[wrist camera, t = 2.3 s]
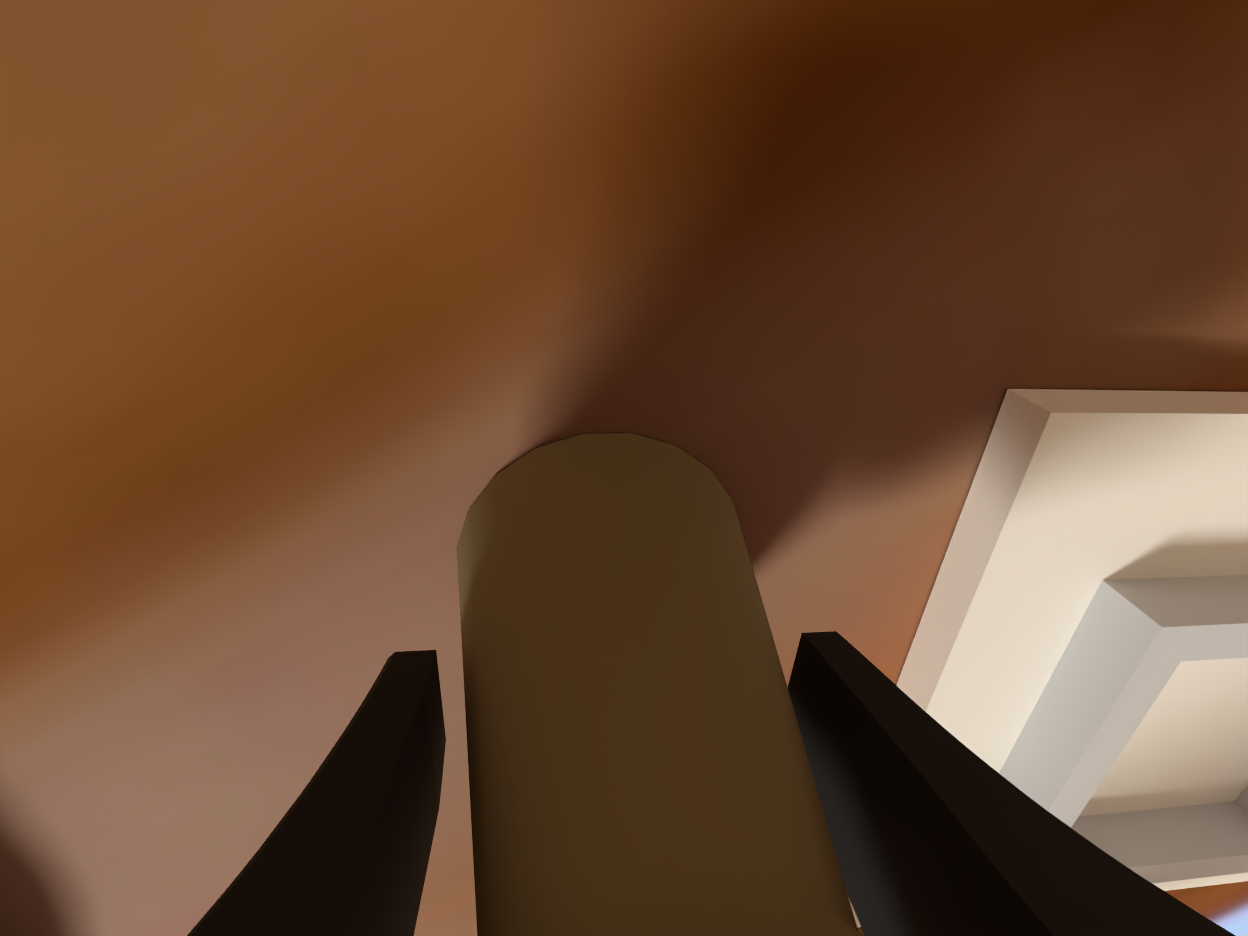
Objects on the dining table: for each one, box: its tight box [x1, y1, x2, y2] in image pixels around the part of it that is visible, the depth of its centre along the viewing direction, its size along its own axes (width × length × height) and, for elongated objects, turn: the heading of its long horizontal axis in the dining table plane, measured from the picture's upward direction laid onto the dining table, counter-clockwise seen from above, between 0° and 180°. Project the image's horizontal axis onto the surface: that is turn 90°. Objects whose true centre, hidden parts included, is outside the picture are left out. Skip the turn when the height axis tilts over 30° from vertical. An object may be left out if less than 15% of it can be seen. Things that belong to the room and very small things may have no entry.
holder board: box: [849, 389, 1248, 927], centre depth 17 cm, size 18×16×3 cm
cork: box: [457, 433, 863, 936], centre depth 8 cm, size 6×6×11 cm
